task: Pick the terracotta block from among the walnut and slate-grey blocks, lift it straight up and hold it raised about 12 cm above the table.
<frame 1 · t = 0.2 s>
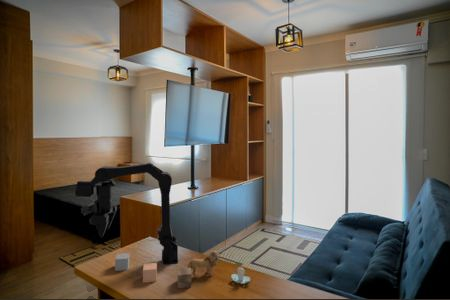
hand: (104, 232, 115), 14 cm above the table, tool pointing down, fingers open, 9 cm apart
walnut block: (184, 283, 104), on the table
terracotta block: (150, 278, 107), on the table
slate grey block: (122, 267, 115), on the table
pacifier: (241, 281, 106), on the table
lion figurine: (202, 274, 111), on the table
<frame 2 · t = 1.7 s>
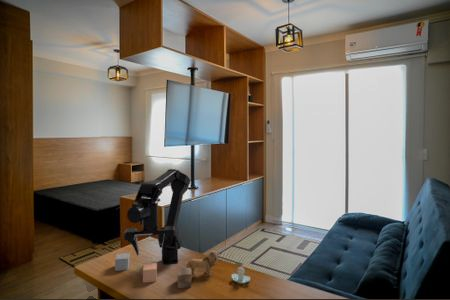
hand: (150, 254, 106), 10 cm above the table, tool pointing down, fingers open, 9 cm apart
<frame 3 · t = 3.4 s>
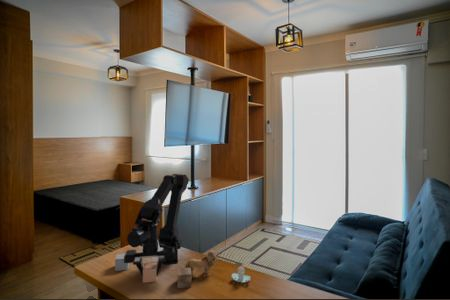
hand: (150, 275, 107), 1 cm above the table, tool pointing down, fingers closed on terracotta block, 5 cm apart
terracotta block: (150, 278, 107), on the table, touching gripper
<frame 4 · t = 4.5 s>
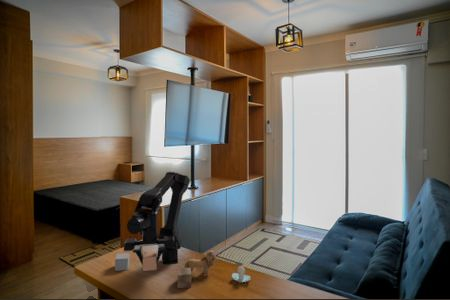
hand: (149, 264, 106), 6 cm above the table, tool pointing down, fingers closed on terracotta block, 5 cm apart
terracotta block: (149, 267, 106), point 5 cm above the table, touching gripper
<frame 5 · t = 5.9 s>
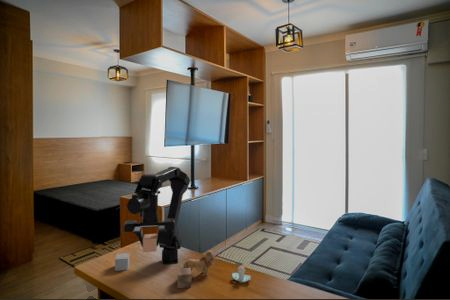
hand: (150, 246, 106), 13 cm above the table, tool pointing down, fingers closed on terracotta block, 5 cm apart
terracotta block: (150, 248, 106), point 12 cm above the table, touching gripper
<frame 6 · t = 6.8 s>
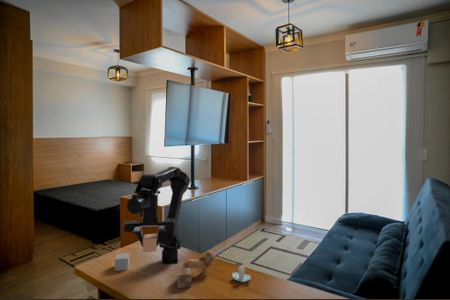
hand: (150, 246, 106), 13 cm above the table, tool pointing down, fingers closed on terracotta block, 5 cm apart
terracotta block: (150, 248, 106), point 12 cm above the table, touching gripper
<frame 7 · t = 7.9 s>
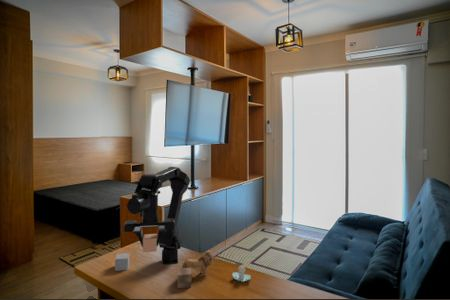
hand: (150, 246, 106), 13 cm above the table, tool pointing down, fingers closed on terracotta block, 5 cm apart
terracotta block: (150, 248, 106), point 12 cm above the table, touching gripper
at the end: terracotta block point 11.9 cm above the table; walnut block moved 0.1 cm from its start; slate grey block moved 0.1 cm from its start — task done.
